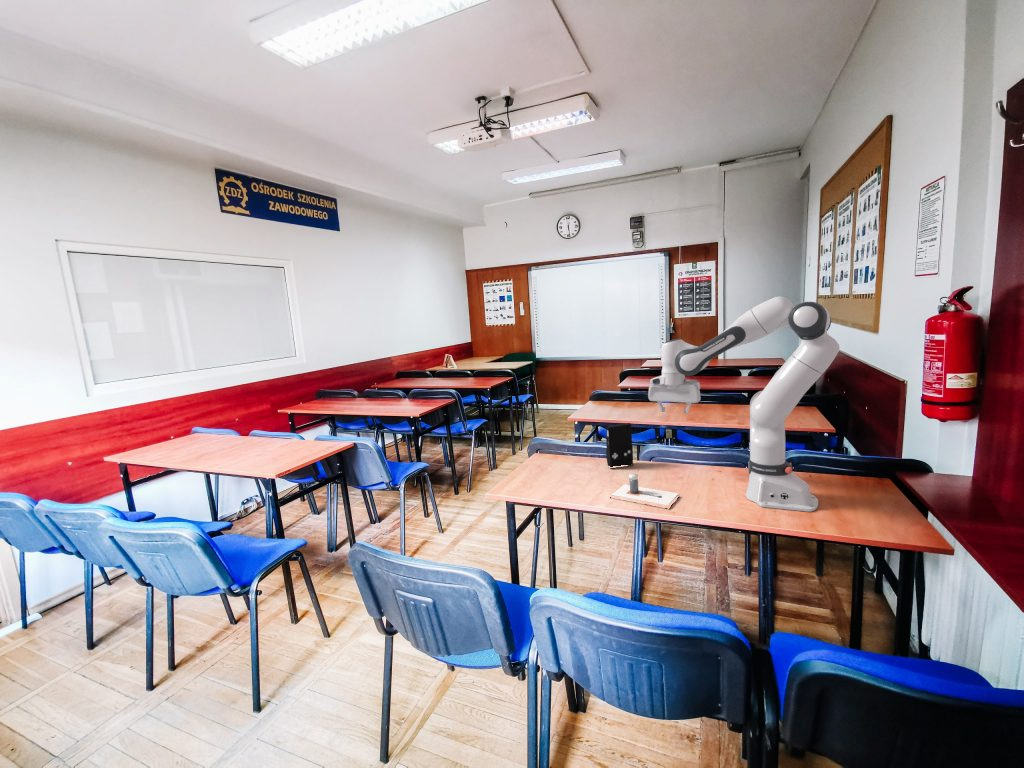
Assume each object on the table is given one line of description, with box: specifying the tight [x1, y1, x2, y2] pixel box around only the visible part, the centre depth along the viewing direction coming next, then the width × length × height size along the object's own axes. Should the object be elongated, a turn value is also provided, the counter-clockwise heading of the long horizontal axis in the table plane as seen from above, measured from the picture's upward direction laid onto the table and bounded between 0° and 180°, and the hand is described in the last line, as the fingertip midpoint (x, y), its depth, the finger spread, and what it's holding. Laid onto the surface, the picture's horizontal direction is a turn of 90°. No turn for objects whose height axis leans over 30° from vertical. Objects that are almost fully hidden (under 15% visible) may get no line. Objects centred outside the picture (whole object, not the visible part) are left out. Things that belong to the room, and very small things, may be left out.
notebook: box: [611, 483, 679, 506], centre depth 171 cm, size 23×13×1 cm, turn 52°
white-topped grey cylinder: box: [628, 473, 639, 494], centre depth 173 cm, size 3×3×7 cm
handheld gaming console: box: [605, 422, 634, 467], centre depth 207 cm, size 12×5×20 cm, turn 105°
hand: (674, 412), depth 182 cm, fingers open, 8 cm apart
